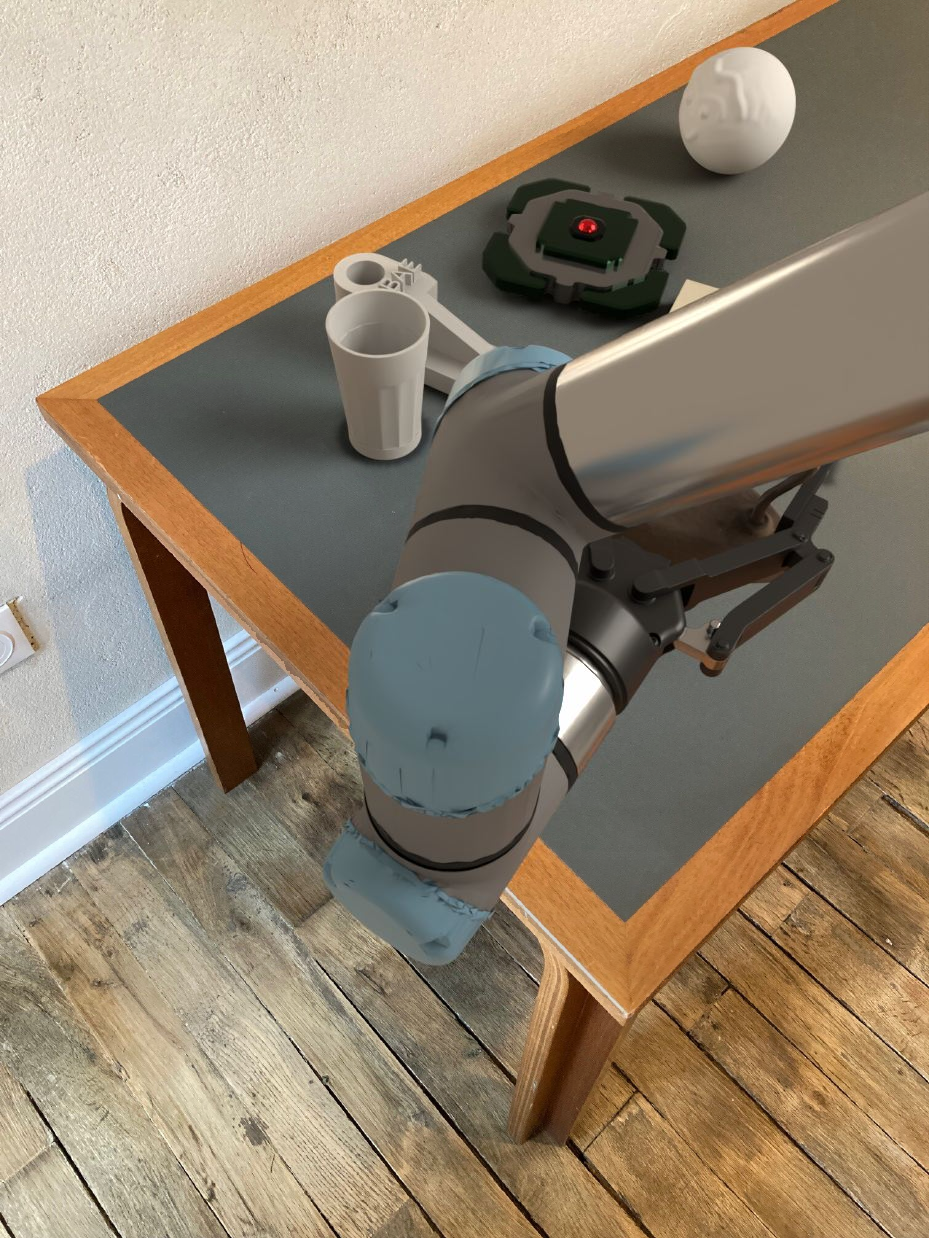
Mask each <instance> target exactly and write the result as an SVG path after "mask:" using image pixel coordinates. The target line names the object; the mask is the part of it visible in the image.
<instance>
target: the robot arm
mask: <svg viewBox="0 0 929 1238" xmlns="http://www.w3.org/2000/svg"><path fill="white" fill-rule="evenodd" d="M718 289H719V290H716V291H714V292H712V293H710V294H708V295H706V296H704V297H702V298H700V299H698V300H696V301H693V302H691V303H689V304H687V305H685V306H683V307H681V308H679V309H677V310H675V311H673V312H670V311H669V312H670V313H669V312H668V313H666V314H663V315H662V316H660V317H658V318H656V319H653V320H652V321H649V322H647V323H646V324H643V325H641V326H639V327H637V328H635V329H633V330H631V331H629V332H627V333H624V334H623V335H620V336H618V337H616V338H614V339H612V340H610V341H607V342H606V343H604V344H601V345H599V346H597V347H595V348H593V349H590V350H589V351H586V352H585V353H583V354H580V355H578V356H576V357H575V358H572V357H571V356H569V355H567V354H565V353H564V352H561V351H559V350H556V349H554V348H550V347H548V346H545V345H538V344H529V345H527V346H516V347H515V346H514V347H509V346H508V345H501V346H496V347H497V348H494V349H491V350H489V351H487V352H485V353H483V354H481V355H479V356H477V357H476V358H475V359H473V360H472V361H471V362H470V363H469V364H468V365H467V366H466V367H465V368H464V369H463V370H462V371H461V372H460V374H459V376H458V377H457V379H456V380H455V382H454V385H453V387H452V389H451V392H450V394H448V396H447V400H446V402H445V405H444V407H443V410H442V413H441V414H440V415H439V416H438V417H437V419H436V422H435V424H434V427H433V432H432V436H431V440H430V447H429V448H430V450H429V453H428V457H427V461H426V465H425V468H424V472H423V475H422V479H421V484H420V486H419V490H418V495H417V497H416V502H415V506H414V508H413V509H414V510H413V512H412V517H411V521H410V524H409V528H408V531H407V535H406V539H405V542H404V545H403V548H402V550H401V554H400V557H399V561H398V565H397V568H396V571H395V574H394V578H393V581H392V585H391V588H390V592H389V594H388V595H387V596H386V597H385V598H384V599H383V600H381V601H380V602H379V603H378V604H377V605H376V606H375V607H374V608H373V609H372V611H371V612H369V613H368V614H367V615H366V616H365V618H364V619H363V620H362V622H361V624H360V625H359V627H358V630H357V631H356V633H355V635H354V638H353V641H352V643H351V647H350V650H349V651H350V652H349V657H348V663H347V664H348V665H347V683H348V685H347V689H346V690H345V714H346V716H347V718H348V720H349V725H348V729H347V730H348V734H349V737H350V738H351V740H352V742H353V744H354V752H355V753H356V755H357V761H358V766H359V770H360V775H361V780H362V784H363V792H362V793H363V802H364V804H363V806H362V807H361V808H360V809H359V810H358V812H357V813H356V815H354V817H353V816H351V817H349V818H348V819H347V820H346V822H345V823H344V827H343V830H342V831H341V832H340V835H339V836H338V838H337V839H336V840H335V842H334V844H333V846H332V847H331V849H330V850H329V852H328V853H327V855H326V857H325V858H324V861H323V864H322V871H321V872H322V877H323V878H322V879H323V881H324V883H325V885H326V887H327V889H328V891H329V892H330V893H331V894H332V896H333V897H334V898H335V899H336V901H337V902H338V903H339V904H340V905H341V906H342V907H343V908H344V909H345V910H346V911H347V912H349V914H351V916H353V917H354V918H355V919H356V920H357V921H358V922H359V923H360V924H362V925H363V926H364V927H365V928H367V929H368V930H369V931H370V932H371V933H373V934H374V935H375V936H377V937H378V938H380V939H382V941H383V942H385V943H387V944H388V945H390V947H392V948H394V949H395V950H397V951H399V953H400V952H401V953H402V954H403V955H406V956H407V957H409V958H411V959H413V960H415V961H417V962H419V963H421V964H425V965H429V966H436V967H439V966H445V965H448V964H450V963H452V962H454V961H455V960H456V959H457V958H458V957H459V956H460V955H461V954H462V952H463V950H464V949H465V948H466V947H467V945H468V944H469V942H470V941H471V940H472V938H473V937H474V936H475V934H476V933H477V932H478V931H479V929H480V927H481V926H482V925H483V923H484V922H486V921H489V920H490V919H492V916H493V915H494V913H495V912H496V909H495V906H496V904H497V903H498V902H499V900H500V898H501V896H502V895H503V893H504V891H505V890H506V888H507V887H508V885H509V884H510V882H511V881H512V879H513V878H514V876H515V875H516V874H517V872H518V870H519V868H520V867H521V865H522V863H523V862H524V861H525V859H526V858H527V856H528V854H529V853H530V852H531V850H532V848H533V847H534V845H535V844H536V842H537V840H538V839H539V837H540V835H541V834H542V833H543V831H544V830H545V827H546V826H547V825H548V823H549V822H550V820H551V818H552V817H553V816H554V813H556V810H557V809H558V808H559V806H560V805H561V803H562V801H563V800H564V798H565V797H566V796H567V794H568V793H569V792H570V790H572V788H573V787H574V785H575V783H576V782H577V780H578V778H579V777H580V776H581V774H582V773H583V771H584V769H585V768H586V766H587V765H588V763H589V762H590V761H591V759H592V758H593V756H594V755H595V753H596V752H597V751H598V749H599V748H600V746H601V744H602V743H603V741H604V740H605V739H606V737H607V736H608V734H609V733H610V732H611V730H612V729H613V728H614V725H616V719H617V716H619V715H621V714H622V713H623V712H624V711H625V710H626V709H627V707H628V705H629V704H630V702H631V701H632V699H633V697H634V696H635V694H636V693H637V691H638V690H639V689H640V687H641V685H642V684H643V682H644V681H645V679H646V678H647V676H648V674H649V673H650V672H651V671H652V669H653V667H654V665H655V664H656V663H657V661H658V660H659V659H660V658H661V657H663V656H665V655H666V654H668V653H671V652H673V651H674V650H675V649H676V650H678V651H680V652H681V653H683V654H685V655H687V656H689V657H691V658H692V659H695V660H696V661H699V671H700V672H701V673H702V674H703V675H704V676H705V677H708V678H717V677H719V676H720V675H721V674H722V673H723V671H724V669H725V667H726V665H727V664H728V662H729V660H730V658H731V656H732V654H733V653H734V651H736V650H737V649H739V648H740V647H741V646H742V645H744V644H745V643H746V642H748V641H750V640H751V639H752V638H753V637H754V636H756V635H757V634H758V633H760V632H761V631H763V630H765V628H767V627H768V626H770V625H771V624H773V623H774V622H775V621H776V620H778V619H779V618H781V617H782V616H783V615H785V614H786V613H787V612H789V611H791V610H792V609H793V608H794V607H795V606H797V605H798V604H800V603H801V602H802V601H804V600H805V599H807V598H808V597H809V596H811V595H812V594H814V593H815V592H816V591H818V590H819V588H820V587H821V585H822V584H823V583H824V580H825V578H827V575H828V573H829V572H830V571H831V569H832V567H833V565H834V564H835V561H836V557H835V555H834V553H833V552H832V551H830V550H829V549H826V548H818V547H817V546H816V545H815V544H814V543H813V540H812V537H813V536H814V534H815V532H816V531H817V529H818V527H819V526H820V524H821V522H822V521H823V518H824V517H825V515H826V513H827V512H828V510H829V500H827V499H825V498H823V497H821V496H819V495H817V492H818V491H819V489H820V488H821V486H822V485H823V483H824V481H825V479H826V478H827V477H826V475H827V473H828V474H829V472H830V469H831V467H832V465H833V463H835V462H838V461H841V460H844V459H847V458H850V457H853V456H856V455H859V454H862V453H865V452H869V451H871V450H875V449H879V448H880V447H884V446H887V445H890V444H893V443H896V442H900V441H903V440H905V439H909V438H912V437H915V436H918V435H921V434H924V433H927V432H929V188H928V189H926V190H924V191H921V192H919V193H917V194H915V195H914V196H911V197H909V198H907V199H905V200H903V201H901V202H899V203H896V204H894V205H892V206H890V207H888V208H886V209H884V210H882V211H880V212H878V213H876V214H873V215H871V216H870V217H868V218H865V219H863V220H861V221H859V222H856V223H855V224H852V225H850V226H848V227H846V228H844V229H842V230H840V231H838V232H836V233H834V234H831V235H830V236H827V237H826V238H823V239H821V240H819V241H817V242H815V243H813V244H811V245H809V246H806V247H805V248H803V249H800V250H798V251H796V252H794V253H792V254H790V255H788V256H785V257H784V258H782V259H779V260H776V261H775V262H773V263H771V264H769V265H767V266H764V267H763V268H760V269H758V270H757V271H754V272H751V273H750V274H748V275H745V276H744V277H742V278H740V279H738V280H735V281H733V282H731V283H729V284H727V285H724V286H723V287H721V288H718ZM819 466H820V468H819V470H818V471H817V472H816V473H815V474H814V475H813V476H812V477H811V478H810V479H808V480H807V481H806V482H804V483H803V484H801V485H800V487H799V488H798V490H797V492H796V493H795V495H794V497H793V498H792V499H791V501H790V503H789V504H788V506H787V507H786V509H785V510H784V512H783V513H782V514H781V515H782V517H781V519H780V521H779V523H778V525H777V528H776V530H775V532H774V534H772V535H769V536H766V537H763V538H761V539H758V540H755V541H752V542H750V543H747V544H744V545H741V546H738V547H736V548H733V549H730V550H727V551H725V552H722V553H719V554H716V555H714V556H711V557H708V558H705V559H702V560H697V559H696V558H693V559H689V560H687V561H684V562H681V563H678V564H675V565H673V566H670V562H671V561H670V560H668V559H666V558H664V557H662V556H660V555H658V554H654V553H651V552H647V551H644V550H643V549H642V548H640V547H639V546H638V545H637V544H636V543H634V542H633V541H631V540H629V539H627V538H626V537H624V536H621V537H620V538H619V539H618V538H612V535H614V534H617V533H620V532H624V531H627V530H630V529H633V528H635V527H636V526H638V525H640V524H643V523H646V522H649V521H652V520H655V519H658V518H661V517H664V516H667V515H671V514H674V513H677V512H680V511H683V510H686V509H689V508H692V507H695V506H698V505H701V504H705V503H708V502H711V501H714V500H717V499H720V498H723V497H726V496H729V495H732V494H736V493H739V492H742V491H745V490H748V489H751V488H757V487H760V486H763V485H766V484H769V483H772V482H776V481H778V480H782V479H784V478H785V479H786V478H788V477H790V476H792V475H794V474H797V473H801V472H804V471H807V470H810V469H813V468H816V467H819ZM828 471H829V472H828ZM827 476H828V475H827ZM825 477H826V478H825ZM782 571H784V573H783V574H781V575H780V576H779V577H777V578H776V579H774V580H773V581H772V582H769V583H766V585H764V586H763V587H762V588H760V589H759V590H757V591H756V592H755V593H753V594H752V595H750V596H749V597H748V598H746V599H745V600H742V602H740V603H739V604H738V605H736V606H735V607H733V608H732V609H731V610H730V611H729V612H728V613H727V614H726V615H725V616H724V617H723V619H722V620H721V621H720V620H718V619H711V620H710V621H707V622H705V623H703V624H702V625H701V626H699V627H696V628H695V627H694V628H692V627H689V626H687V618H686V612H689V611H691V610H693V609H694V608H696V607H697V606H698V604H700V603H702V602H704V601H707V600H710V599H712V598H715V597H718V596H720V595H723V594H726V593H728V592H732V591H734V590H737V589H740V588H741V587H745V586H748V585H749V584H754V583H753V582H755V581H758V580H761V579H763V578H766V577H769V576H771V575H774V574H777V573H779V572H782ZM785 571H786V572H785Z"/></svg>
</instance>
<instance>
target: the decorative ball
mask: <svg viewBox="0 0 929 1238" xmlns="http://www.w3.org/2000/svg"><path fill="white" fill-rule="evenodd" d="M796 99H797V98H796V90H795V85H794V82H793V79H792V77H791V75H790V73H789V71H788V69H787V68H786V67H785V65H784V64H783V63H782V62H781V61H780V60H779V59H778V58H777V57H776V56H775V55H774V54H771V53H770V52H768V51H766V50H763V49H761V48H757V47H751V46H739V47H731V48H728V49H725V50H721V51H719V52H718V53H715V54H713V55H712V56H710V57H708V58H706V59H705V60H704V61H703V62H702V63H700V64H698V65H697V66H696V67H695V68H694V70H693V71H692V73H691V76H690V79H689V81H688V83H687V85H686V87H685V89H684V91H683V93H682V98H681V101H680V104H679V109H678V125H679V132H680V136H681V139H682V142H683V145H684V147H685V148H686V149H685V150H686V151H687V152H688V154H689V156H691V158H692V159H693V160H694V161H695V162H696V163H698V165H700V166H701V167H703V168H705V169H707V170H708V171H711V172H712V173H713V172H714V173H717V174H721V175H738V174H744V173H747V172H749V171H753V170H754V169H756V168H758V167H760V166H762V165H764V163H766V162H768V161H769V160H770V159H771V158H773V156H774V155H775V154H776V153H777V152H778V151H779V150H780V148H781V147H782V145H784V142H785V141H786V139H787V138H788V136H789V134H790V131H791V129H792V126H793V124H794V120H795V114H796V107H797V106H796V105H797V102H796V101H797V100H796Z"/></svg>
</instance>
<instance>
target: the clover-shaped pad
mask: <svg viewBox="0 0 929 1238" xmlns="http://www.w3.org/2000/svg"><path fill="white" fill-rule="evenodd" d="M505 217H506V218H505V219H506V220H507V231H503V230H502V231H501V230H497V231H493V233H492V235H491V237H490V239H489V241H488V242H487V244H486V245H485V248H484V250H483V251H482V252H481V253H482V254H481V269H482V271H483V272H484V274H485V275H486V276H487V277H488V279H489V280H490V281H491V283H492V284H493V285H494V287H495V288H496V289H498V290H500V291H501V292H506V293H508V294H509V293H510V294H514V295H517V296H521V297H525V298H530V299H533V300H541V299H544V296H545V294H550V295H552V296H553V301H555V302H556V303H560V304H563V305H570V304H571V303H572V301H573V302H574V301H578V302H579V304H578V309H580V311H581V312H585V313H589V314H593V315H597V316H601V317H605V318H610V319H613V320H617V321H628V320H630V319H635V318H637V317H640V316H643V315H646V314H650V313H654V312H655V311H656V310H658V309H659V308H660V305H661V301H662V299H663V296H664V293H665V290H666V289H667V285H668V282H669V277H670V273H669V272H668V271H667V270H665V269H664V267H665V263H666V260H667V261H675V260H677V258H678V256H679V253H680V250H681V247H682V244H683V242H684V239H685V236H686V233H687V232H686V231H687V223H686V222H685V221H684V219H682V218H681V217H680V215H678V214H677V212H675V211H674V209H672V208H671V206H669V205H668V204H665V203H663V202H658V201H654V200H649V199H645V198H641V197H636V196H632V195H627V196H624V198H623V199H618V198H616V197H614V193H612V192H610V191H607V190H597V192H595V193H593V192H591V187H590V186H589V185H588V184H583V183H579V182H575V181H574V182H573V181H570V180H565V179H560V178H555V177H547V178H542V179H539V180H535V181H532V182H528V183H524V184H521V185H520V186H518V187H517V188H516V190H515V192H514V194H513V195H512V197H511V199H510V201H509V202H508V205H507V207H506V215H505Z"/></svg>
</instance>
